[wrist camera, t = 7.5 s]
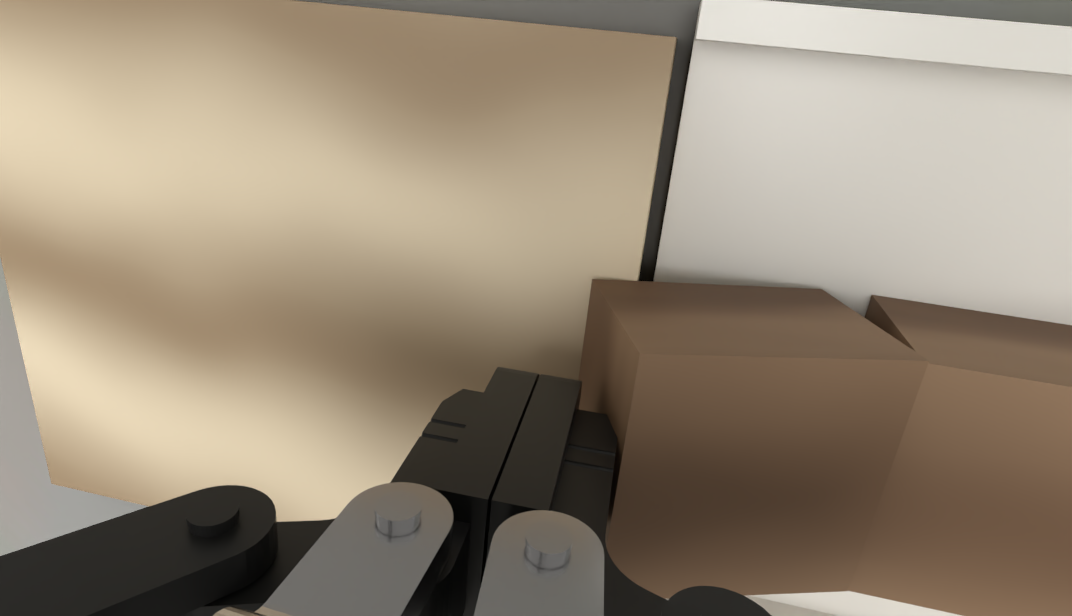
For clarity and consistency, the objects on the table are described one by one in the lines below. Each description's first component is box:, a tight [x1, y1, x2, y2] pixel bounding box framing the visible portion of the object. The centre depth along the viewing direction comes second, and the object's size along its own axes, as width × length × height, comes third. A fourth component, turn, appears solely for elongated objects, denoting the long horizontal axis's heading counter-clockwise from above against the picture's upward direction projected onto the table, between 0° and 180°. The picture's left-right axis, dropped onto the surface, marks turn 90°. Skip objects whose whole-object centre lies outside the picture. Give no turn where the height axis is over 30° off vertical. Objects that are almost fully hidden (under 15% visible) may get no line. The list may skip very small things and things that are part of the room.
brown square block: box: [578, 279, 929, 599], centre depth 12 cm, size 4×4×3 cm
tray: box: [653, 0, 1072, 616], centre depth 13 cm, size 13×9×2 cm
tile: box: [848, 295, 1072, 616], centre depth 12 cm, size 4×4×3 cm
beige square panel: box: [0, 0, 677, 522], centre depth 15 cm, size 12×14×2 cm
